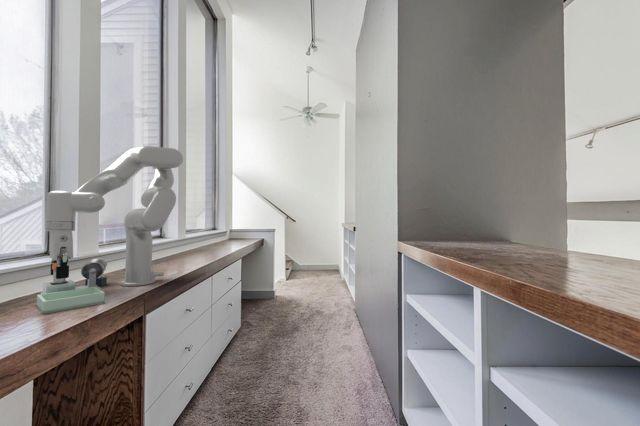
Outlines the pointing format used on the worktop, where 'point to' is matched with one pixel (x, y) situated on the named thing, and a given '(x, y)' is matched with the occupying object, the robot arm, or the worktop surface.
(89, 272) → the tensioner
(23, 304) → the worktop surface
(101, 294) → the tray
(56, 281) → the lock pin
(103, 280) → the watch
